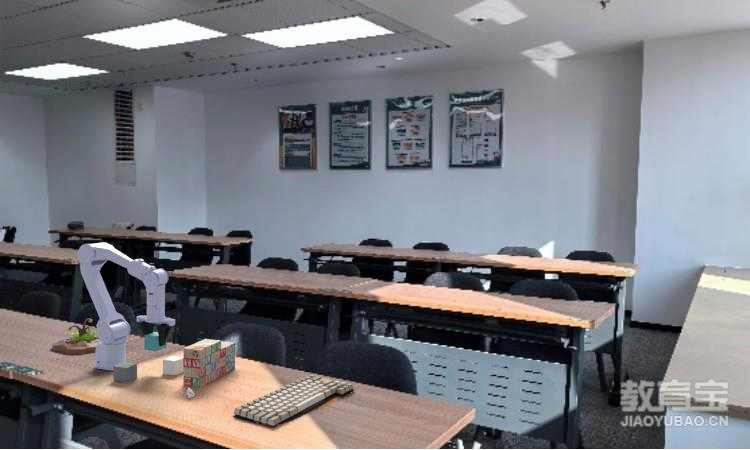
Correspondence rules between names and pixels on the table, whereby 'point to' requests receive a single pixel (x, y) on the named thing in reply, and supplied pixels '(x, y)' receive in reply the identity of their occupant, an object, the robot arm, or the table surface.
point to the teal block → (153, 342)
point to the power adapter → (190, 393)
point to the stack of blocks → (207, 361)
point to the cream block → (173, 365)
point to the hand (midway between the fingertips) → (155, 344)
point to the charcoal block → (125, 372)
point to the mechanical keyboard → (293, 401)
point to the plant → (78, 341)
